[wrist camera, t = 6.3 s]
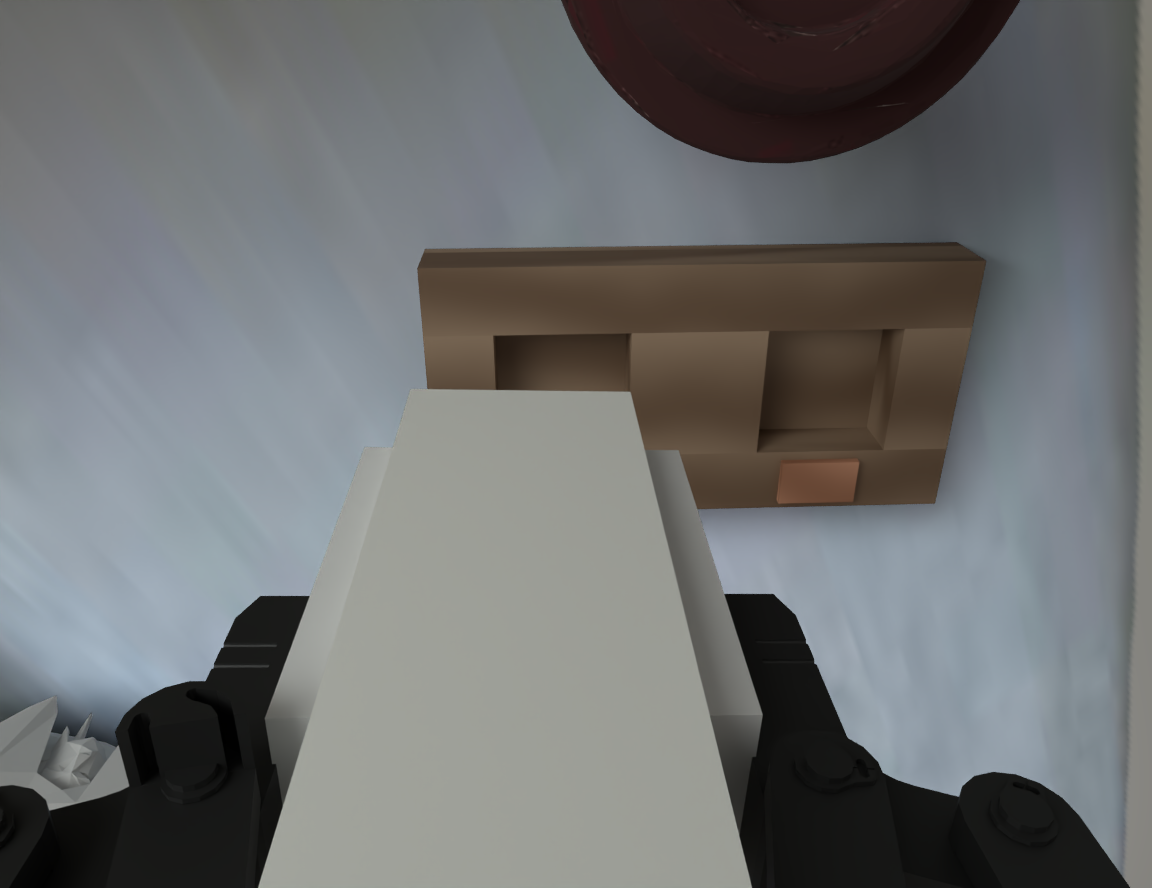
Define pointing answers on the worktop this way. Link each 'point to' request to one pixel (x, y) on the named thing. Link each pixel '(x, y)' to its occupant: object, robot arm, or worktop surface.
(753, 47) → the coffee cup
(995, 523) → the worktop surface
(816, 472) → the socket board
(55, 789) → the bowl
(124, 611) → the worktop surface
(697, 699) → the plug
